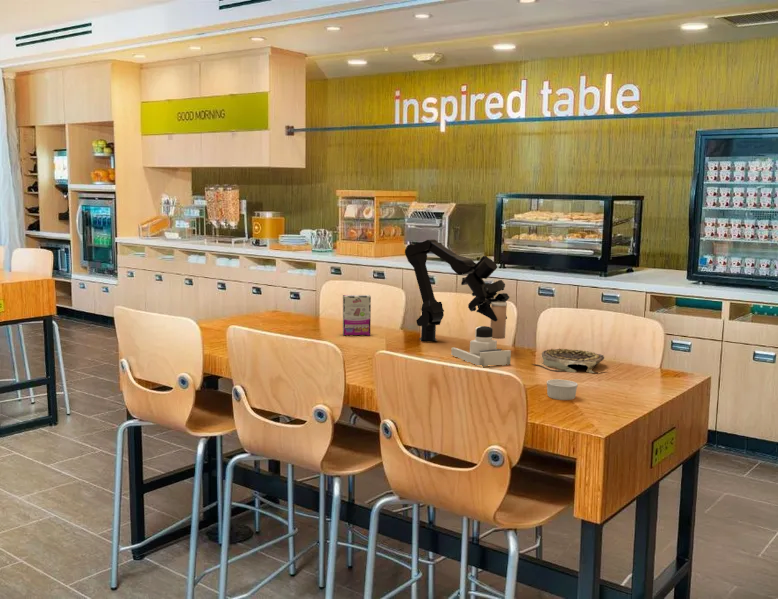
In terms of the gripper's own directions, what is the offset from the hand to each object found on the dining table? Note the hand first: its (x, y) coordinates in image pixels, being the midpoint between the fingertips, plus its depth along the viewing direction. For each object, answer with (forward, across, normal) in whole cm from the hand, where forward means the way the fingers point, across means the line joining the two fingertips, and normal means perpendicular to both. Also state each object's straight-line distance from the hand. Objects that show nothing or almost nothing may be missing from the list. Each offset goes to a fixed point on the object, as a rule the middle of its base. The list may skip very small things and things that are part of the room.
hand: (501, 320), depth 287 cm
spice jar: (+4, 0, +6) cm, 7 cm away
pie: (+29, +5, -10) cm, 31 cm away
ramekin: (+44, -37, -25) cm, 62 cm away
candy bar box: (-34, -13, +53) cm, 65 cm away
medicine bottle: (+11, -15, +7) cm, 20 cm away
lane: (+10, -14, +8) cm, 19 cm away
